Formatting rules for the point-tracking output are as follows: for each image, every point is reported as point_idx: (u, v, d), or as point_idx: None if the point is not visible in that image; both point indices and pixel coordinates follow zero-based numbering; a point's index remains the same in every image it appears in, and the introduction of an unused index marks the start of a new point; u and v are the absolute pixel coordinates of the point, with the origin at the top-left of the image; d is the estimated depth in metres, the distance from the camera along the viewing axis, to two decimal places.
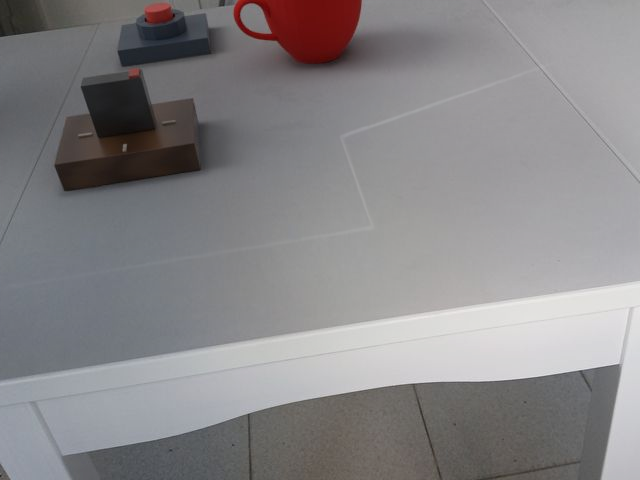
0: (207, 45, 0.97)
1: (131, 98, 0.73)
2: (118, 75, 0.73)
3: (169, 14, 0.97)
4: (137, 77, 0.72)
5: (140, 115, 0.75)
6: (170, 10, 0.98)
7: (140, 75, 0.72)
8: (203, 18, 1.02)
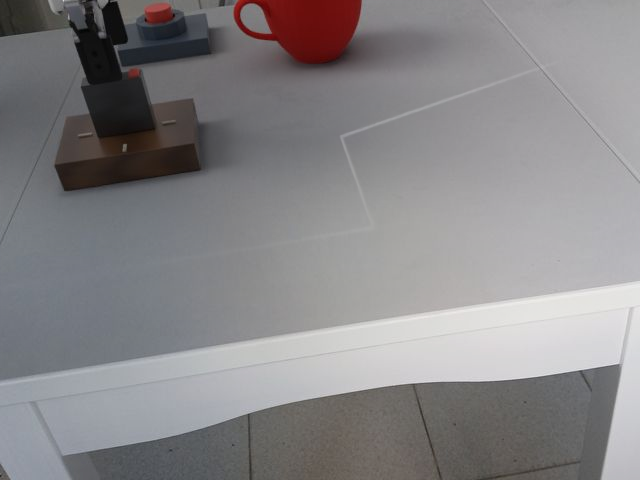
0: (207, 45, 0.97)
1: (131, 98, 0.73)
2: None
3: (169, 14, 0.97)
4: (137, 77, 0.72)
5: (140, 115, 0.75)
6: (170, 10, 0.98)
7: (140, 75, 0.72)
8: (203, 18, 1.02)
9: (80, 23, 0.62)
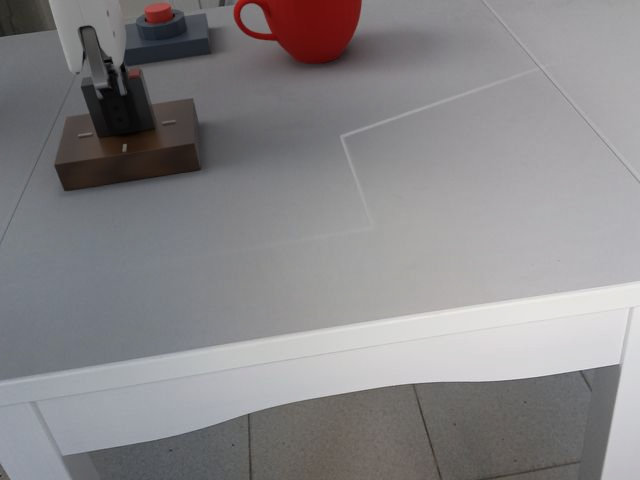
0: (207, 45, 0.97)
1: None
2: None
3: (169, 14, 0.97)
4: (137, 77, 0.72)
5: (140, 115, 0.75)
6: (170, 10, 0.98)
7: (140, 75, 0.72)
8: (203, 18, 1.02)
9: (106, 89, 0.69)
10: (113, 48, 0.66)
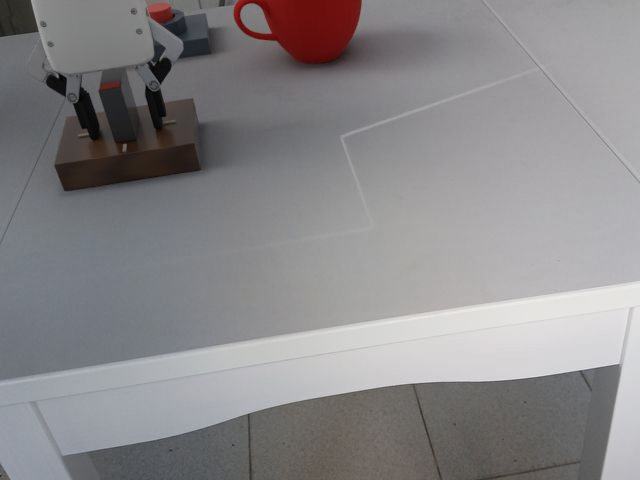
0: (207, 45, 0.97)
1: None
2: (113, 79, 0.72)
3: (169, 14, 0.97)
4: (100, 89, 0.71)
5: None
6: (170, 10, 0.98)
7: (104, 90, 0.70)
8: (203, 18, 1.02)
9: None
10: (47, 54, 0.68)
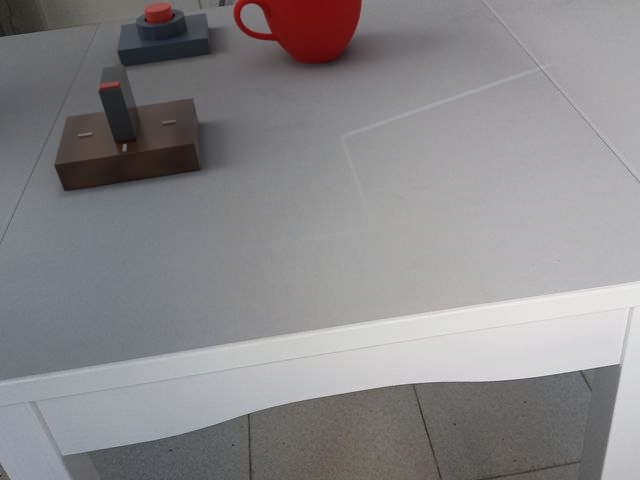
0: (207, 45, 0.97)
1: None
2: (113, 79, 0.72)
3: (169, 14, 0.97)
4: (100, 89, 0.71)
5: None
6: (170, 10, 0.98)
7: (104, 90, 0.70)
8: (203, 18, 1.02)
9: None
10: None
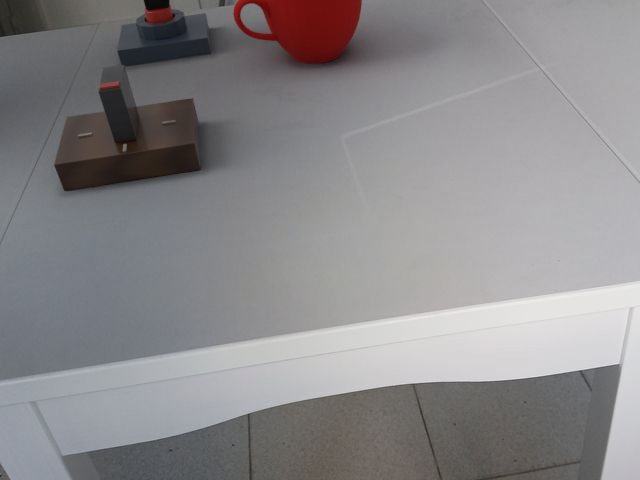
0: (207, 45, 0.97)
1: None
2: (113, 79, 0.72)
3: (169, 14, 0.97)
4: (100, 89, 0.71)
5: None
6: (170, 10, 0.98)
7: (104, 90, 0.70)
8: (203, 18, 1.02)
9: None
10: None
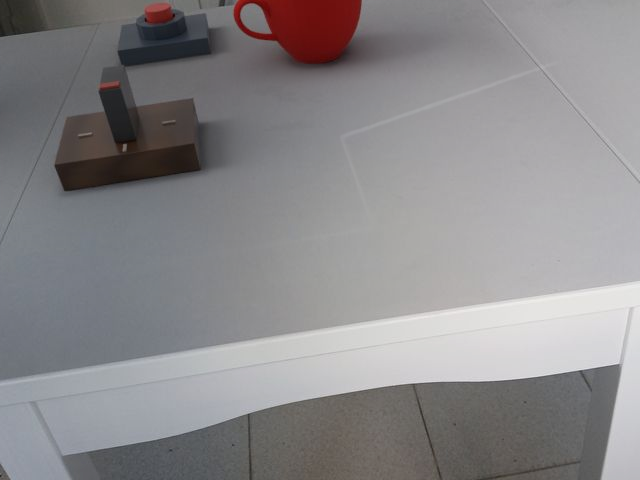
0: (207, 45, 0.97)
1: None
2: (113, 79, 0.72)
3: (169, 14, 0.97)
4: (100, 89, 0.71)
5: None
6: (170, 10, 0.98)
7: (104, 90, 0.70)
8: (203, 18, 1.02)
9: None
10: None
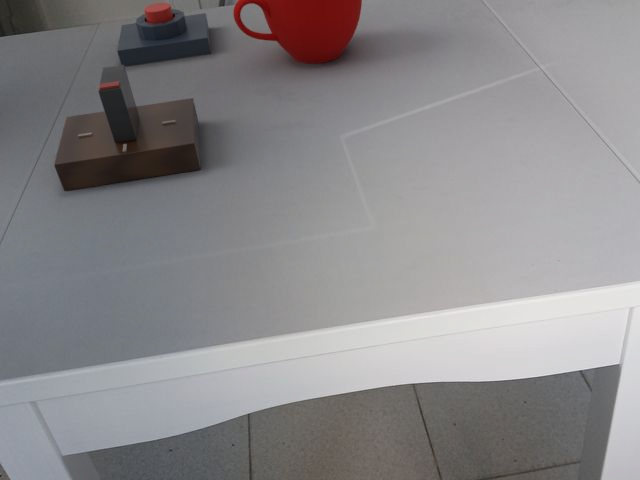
0: (207, 45, 0.97)
1: None
2: (113, 79, 0.72)
3: (169, 14, 0.97)
4: (100, 89, 0.71)
5: None
6: (170, 10, 0.98)
7: (104, 90, 0.70)
8: (203, 18, 1.02)
9: None
10: None
